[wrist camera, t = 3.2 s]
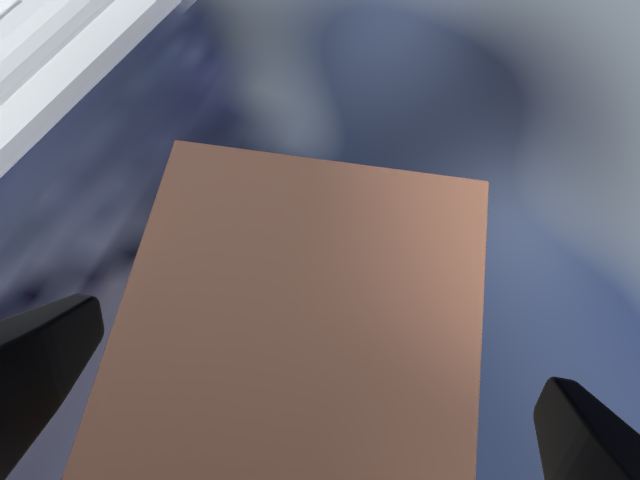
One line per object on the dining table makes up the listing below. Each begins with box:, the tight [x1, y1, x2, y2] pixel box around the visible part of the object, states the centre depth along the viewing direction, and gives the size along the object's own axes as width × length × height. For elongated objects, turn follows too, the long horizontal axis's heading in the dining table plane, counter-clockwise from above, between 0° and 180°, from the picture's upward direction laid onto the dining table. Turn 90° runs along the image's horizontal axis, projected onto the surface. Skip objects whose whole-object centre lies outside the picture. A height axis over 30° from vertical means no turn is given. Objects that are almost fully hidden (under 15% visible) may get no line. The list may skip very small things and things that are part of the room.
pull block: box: [61, 140, 489, 480], centre depth 10 cm, size 4×4×11 cm
